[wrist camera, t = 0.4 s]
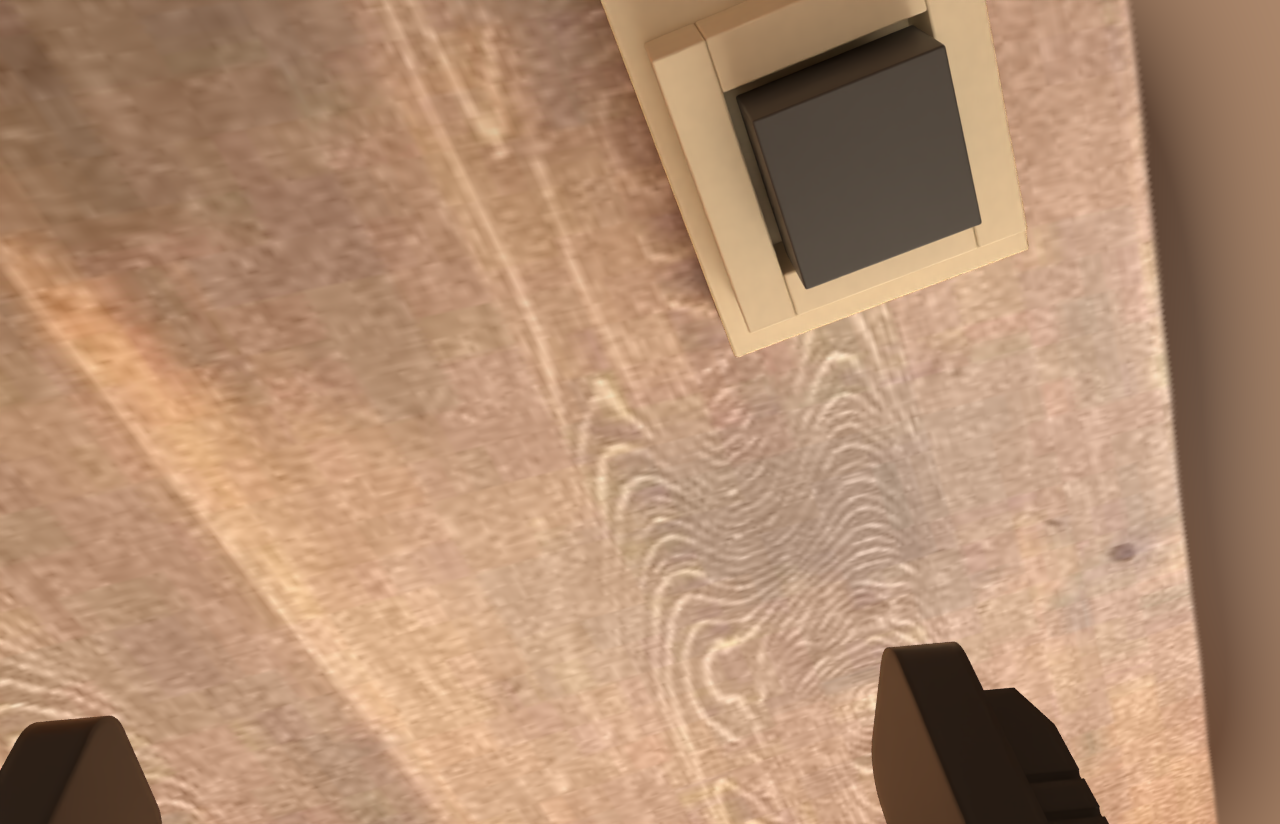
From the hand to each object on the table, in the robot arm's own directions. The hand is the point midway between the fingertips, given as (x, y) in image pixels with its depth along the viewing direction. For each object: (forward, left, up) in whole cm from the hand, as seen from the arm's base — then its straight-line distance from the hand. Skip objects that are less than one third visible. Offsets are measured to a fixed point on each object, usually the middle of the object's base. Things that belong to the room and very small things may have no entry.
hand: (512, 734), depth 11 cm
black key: (-5, +6, -15) cm, 16 cm away
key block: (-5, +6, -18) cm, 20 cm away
